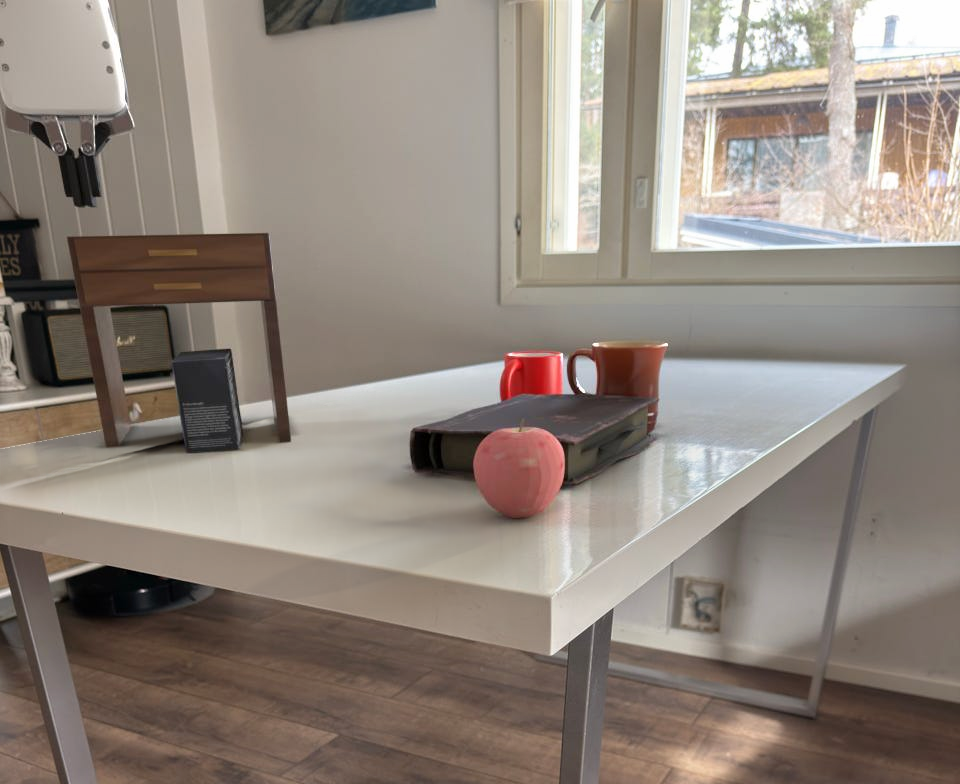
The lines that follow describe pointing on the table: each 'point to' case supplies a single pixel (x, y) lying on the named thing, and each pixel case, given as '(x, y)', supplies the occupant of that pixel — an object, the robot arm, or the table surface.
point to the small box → (208, 400)
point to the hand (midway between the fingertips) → (85, 206)
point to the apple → (519, 470)
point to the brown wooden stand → (170, 300)
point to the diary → (568, 417)
